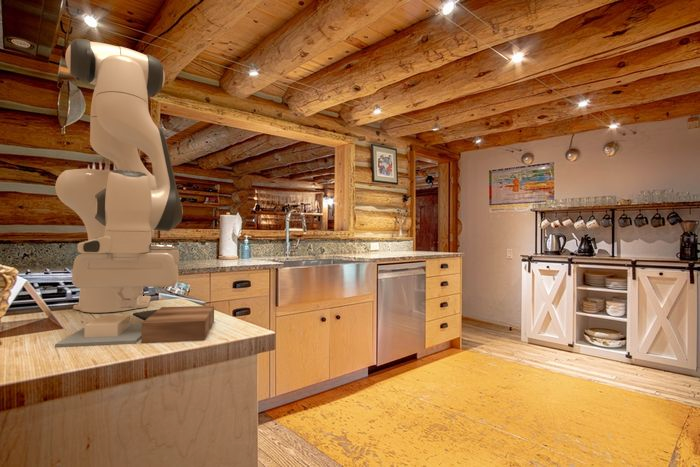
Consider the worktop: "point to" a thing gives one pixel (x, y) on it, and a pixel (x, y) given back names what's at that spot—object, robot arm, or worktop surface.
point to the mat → (103, 338)
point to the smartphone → (144, 314)
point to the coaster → (107, 326)
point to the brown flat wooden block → (178, 324)
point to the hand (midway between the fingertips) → (127, 307)
